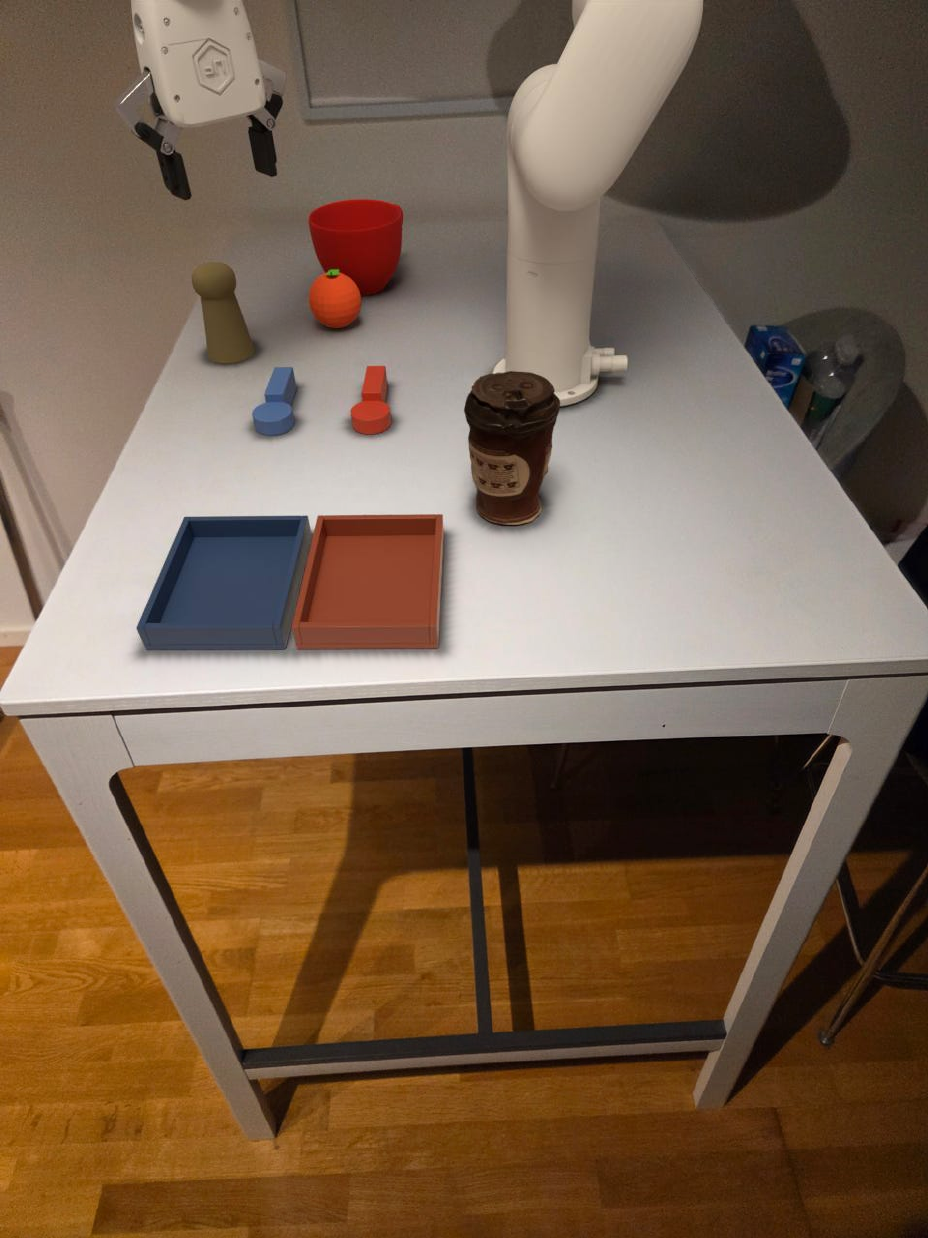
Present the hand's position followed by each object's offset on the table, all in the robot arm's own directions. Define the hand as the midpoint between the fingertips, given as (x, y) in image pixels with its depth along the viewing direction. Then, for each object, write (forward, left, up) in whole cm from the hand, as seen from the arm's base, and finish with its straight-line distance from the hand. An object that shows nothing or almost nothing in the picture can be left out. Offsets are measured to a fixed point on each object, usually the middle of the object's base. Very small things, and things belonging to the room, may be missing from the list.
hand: (225, 184), depth 79 cm
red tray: (-16, +35, -23) cm, 45 cm away
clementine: (-6, -19, -23) cm, 30 cm away
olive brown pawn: (+7, -11, -23) cm, 26 cm away
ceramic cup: (-9, -33, -23) cm, 41 cm away
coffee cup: (-28, +23, -23) cm, 43 cm away
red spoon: (-13, +4, -23) cm, 27 cm away
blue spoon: (-2, +4, -23) cm, 23 cm away
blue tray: (-3, +35, -23) cm, 42 cm away
